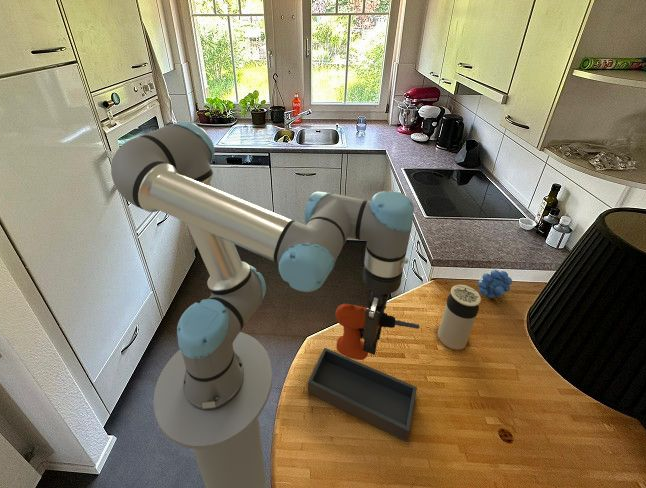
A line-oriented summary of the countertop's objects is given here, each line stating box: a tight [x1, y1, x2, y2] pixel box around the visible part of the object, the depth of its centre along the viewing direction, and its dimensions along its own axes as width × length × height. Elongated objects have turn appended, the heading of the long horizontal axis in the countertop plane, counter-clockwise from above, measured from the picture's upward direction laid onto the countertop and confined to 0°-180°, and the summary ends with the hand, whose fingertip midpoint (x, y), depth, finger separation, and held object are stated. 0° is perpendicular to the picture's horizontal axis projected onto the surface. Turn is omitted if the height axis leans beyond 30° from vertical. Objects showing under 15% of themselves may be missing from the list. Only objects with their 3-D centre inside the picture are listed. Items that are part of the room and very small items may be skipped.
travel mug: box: [437, 284, 482, 351], centre depth 92 cm, size 8×8×18 cm
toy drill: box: [335, 303, 420, 361], centre depth 73 cm, size 5×19×15 cm, turn 71°
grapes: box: [477, 269, 513, 299], centre depth 106 cm, size 12×7×12 cm, turn 95°
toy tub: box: [307, 347, 418, 442], centre depth 81 cm, size 25×11×5 cm, turn 64°
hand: (371, 343), depth 74 cm, fingers closed on toy drill, 3 cm apart
